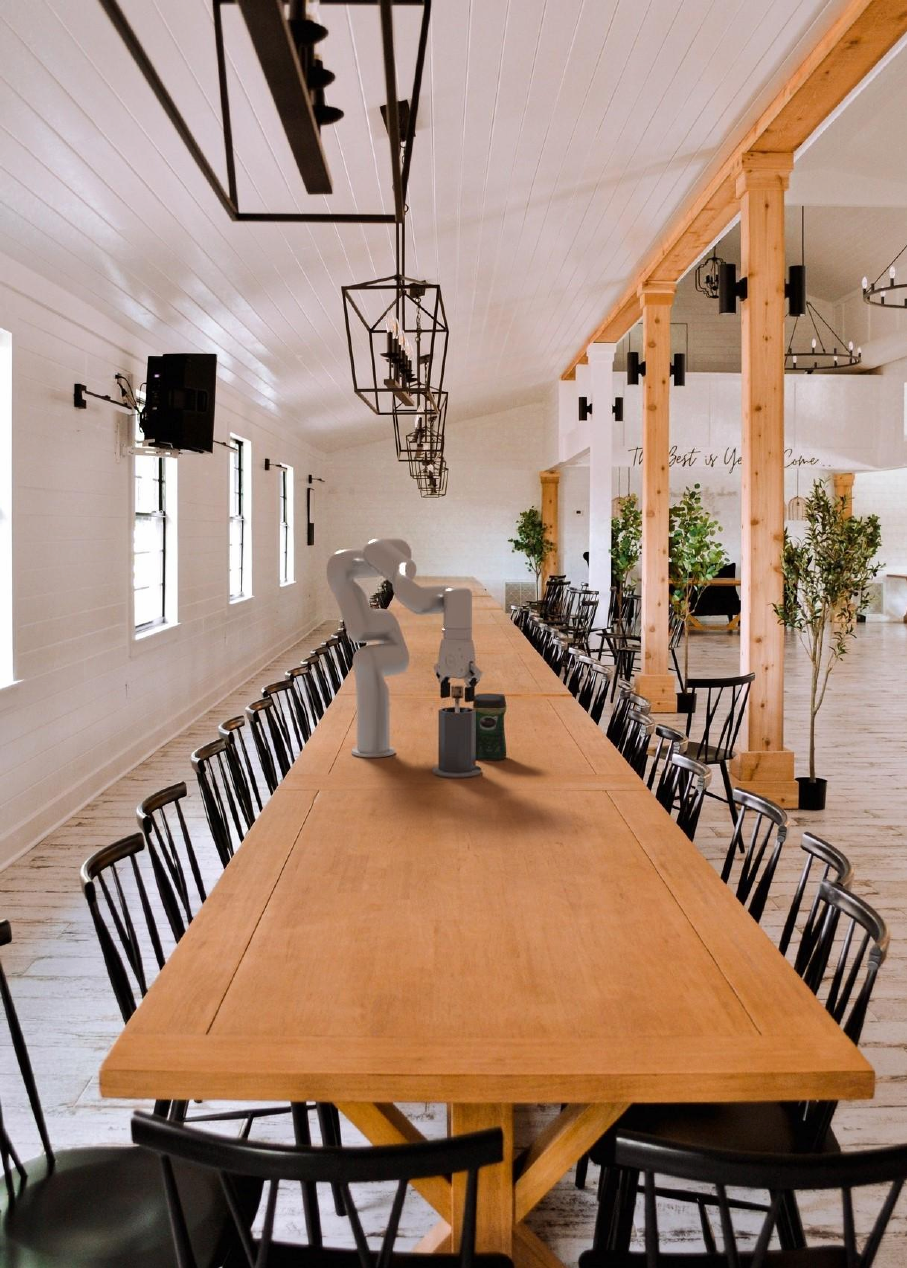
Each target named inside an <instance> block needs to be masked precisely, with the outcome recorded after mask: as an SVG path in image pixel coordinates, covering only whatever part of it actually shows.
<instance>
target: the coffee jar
mask: <svg viewBox="0 0 907 1268" xmlns="http://www.w3.org/2000/svg"><path fill="white" fill-rule="evenodd" d="M472 709H475V710H476V760H481V761H499V760H500V761H501V760H503V759H506V757H507V744H506V743H507V742H506V741H507V740H506V733H505V714H506V712H507V702H506V696H505V694H503V693H492V692H491V693H488V692H485V693H484V692H483V693H475V700H474V701H472Z"/></svg>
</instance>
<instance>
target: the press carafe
mask: <svg viewBox="0 0 907 1268" xmlns="http://www.w3.org/2000/svg"><path fill="white" fill-rule="evenodd" d="M437 737H438V738H437V739H438V741H437V742H438V747H437V748H438V749H437V750H438V752H437V754H438V763H437V765H435V766H434V767H432V774H433V775H434V776H437V777H438V778H439V777H440V778H445V779H455V778H458V779H469V778H475V777H478V776H480V775H482V768H481V766H478V765H476V764H477V763H476V761H477V759H476V710H475V709H473V707H465V706H460V713H455V706H450V707H449V706H448V707H442V708H440V709H438V736H437Z"/></svg>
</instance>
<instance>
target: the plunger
mask: <svg viewBox="0 0 907 1268" xmlns="http://www.w3.org/2000/svg"><path fill="white" fill-rule="evenodd" d="M450 697H451V699H454V707H455V713H460V707H461V706H460V704H461V701H460V699H464V685H459V684H457V685H455V684H454V685H450Z"/></svg>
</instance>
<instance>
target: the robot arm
mask: <svg viewBox="0 0 907 1268" xmlns="http://www.w3.org/2000/svg"><path fill="white" fill-rule="evenodd" d="M364 545H365V546H364V547H363V548H349V549H348V548H347V549H342V550H338V551H336V552H334V553H332V554H331V556H330V557H329V558H328V561H327V563H326V579H327V582H328V586H329V588H330V590H331V593H332V594H333V595H334V598H335V600H336V601H337V604H338V608H339V611H340V614H341V617H342V620H343V623H344V626H345V629H346V632H347V634H348V637H349V638H350V640H351V641H352V642H354V643H357V644H359V643H361V644H365V643H373V644H368V645H364V646H361V647H359V648H358V649H357V650H356V651H355V652H354V654H353V657H352V668H353V672H354V678H355V691H356V692H355V693H356V698H355V699H356V746H355V747H353V748H352V749H351V754H352V755H353V756H355V757H358V758H359V757H360V758H384V757H389V756H393V755H395V754H396V749H395V747H393V746H390V741H391V739H390V737H391V736H390V735H391V733H390V731H391V728H390V727H391V724H390V723H391V722H390V721H391V720H390V719H391V718H390V717H391V716H390V711H391V710H390V709H391V708H390V707H391V706H390V705H391V704H390V703H391V702H390V701H391V700H390V689H389V687H388V684H387V682H386V681H385V677H390V676H395V675H396V676H397V675H401V674H403V673H405V672H406V671H407V669H408V668H409V665H410V654H409V650H408V647H407V645H406V644H407V643H406V641H405V639H404V634H403V632H402V630H401V626H400V624H399V621H398V619H397V617H396V616H395V614H394V613H393V612H391V611H390V610H388V609H385V608H372V607H371V605H370V603H369V601H368V600H369V599H368V597H367V594H366V592H365V591H364V589H363V588H362V587H361V586H360V585H359V584H358V583H357V582H356V581H355V579H366V578H369V579H370V578H371V579H372V578H378V577H381V576H382V577H383V578H385V579H386V580H387V581H388V582H389V583H391V584H392V591H393V594H394V597H395V598H396V600H397V601H398V602H399V603H400V604H401V605H402V606H403V607H405V608H406V609H407V610H408V611H410V612H412V614H416V615H420V616H426V615H439V614H443V628H442V631H441V633H442V634H443V638H442V639H441V640H440V644H439V649H438V661H437V663H435V665H433V669H434V672H435V676H436V677H437V679H438V683H439V685H440V687H439V688H440V690H439V691H440V692H439V695H440V699H445V698H450V697H451V682H450V679H457V680H461V679H462V680H463V681H464V684H465V686H466V687H465V686H464V702H465V703H470V702H472V703H473V702H474V700H475V695H476V693H475V691H476V690H475V689H476V688H475V687H477V685H478V683H479V682H480V680H481V677H482V676H483V671H482V670H481V669H480V668H479V667H478V666H476V651H475V644H474V640H473V629H472V628H473V625H472V624H473V592H472V590H471V589H470V588H467V587H453V586H449V585H429V586H427V585H426V586H421V585H419V584H417V583H416V582H415V581H414V578H415V577H416V574H417V565H416V563H415V562H414V561H413V560H412V549H411V547H410V545H409V544H408V542H407V541H405V540H403V539H401V538H375V539H371V540H369V542H367V543H366V544H364ZM375 642H376V644H375Z"/></svg>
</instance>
